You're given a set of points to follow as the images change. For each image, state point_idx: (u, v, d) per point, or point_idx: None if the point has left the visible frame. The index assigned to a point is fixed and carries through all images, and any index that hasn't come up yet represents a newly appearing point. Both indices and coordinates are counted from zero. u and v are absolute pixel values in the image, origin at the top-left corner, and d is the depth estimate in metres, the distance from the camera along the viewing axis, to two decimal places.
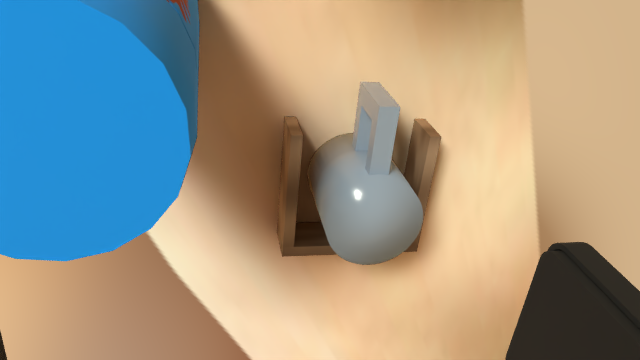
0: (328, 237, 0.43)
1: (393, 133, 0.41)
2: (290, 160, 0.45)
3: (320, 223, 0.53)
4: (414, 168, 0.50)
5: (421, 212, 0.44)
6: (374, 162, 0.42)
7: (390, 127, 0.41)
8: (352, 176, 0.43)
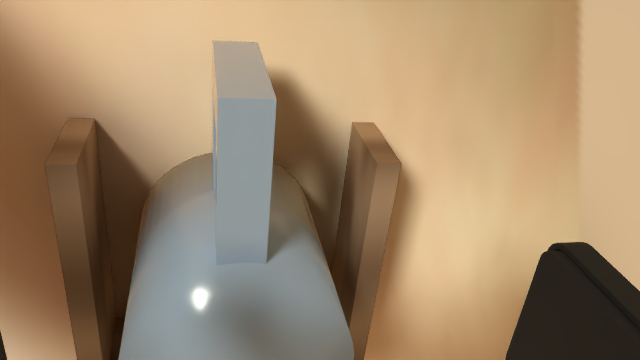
0: None
1: (266, 167, 0.16)
2: (57, 220, 0.20)
3: None
4: (352, 222, 0.25)
5: (349, 344, 0.19)
6: (225, 237, 0.17)
7: (256, 152, 0.16)
8: (179, 265, 0.18)
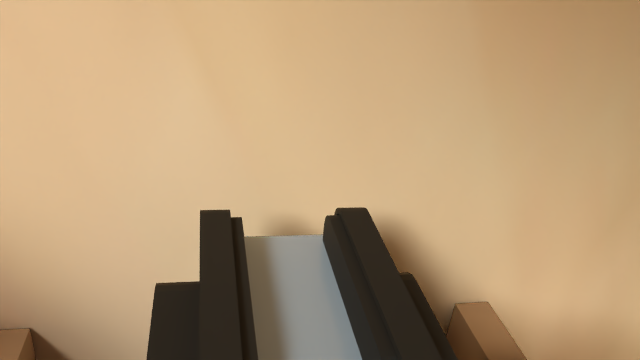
0: None
1: None
2: None
3: None
4: None
5: None
6: None
7: None
8: None
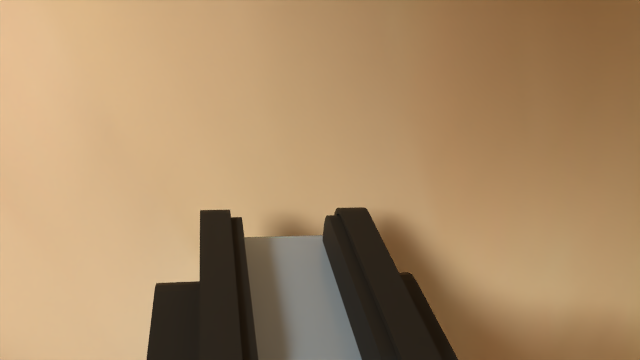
0: None
1: None
2: None
3: None
4: None
5: None
6: None
7: None
8: None
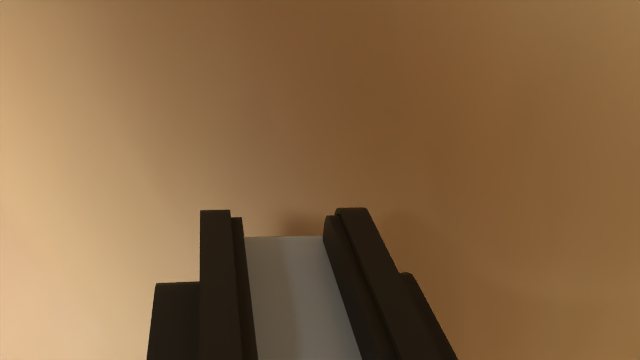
0: None
1: None
2: None
3: None
4: None
5: None
6: None
7: None
8: None
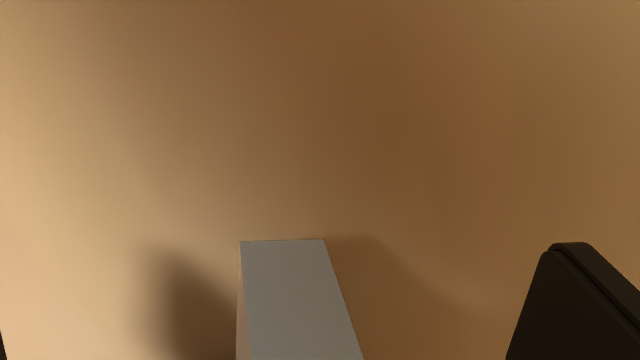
0: None
1: None
2: None
3: None
4: None
5: None
6: None
7: None
8: None
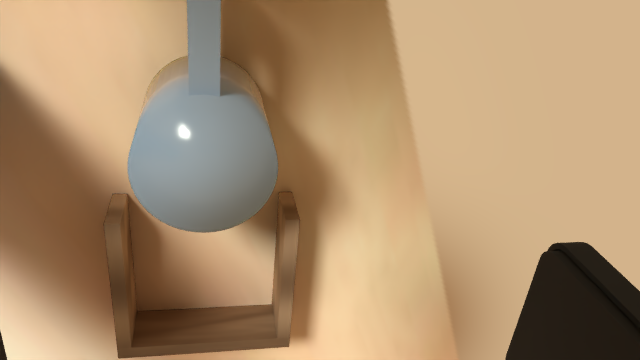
0: (134, 189, 0.29)
1: (216, 28, 0.27)
2: (108, 253, 0.37)
3: (177, 311, 0.45)
4: (279, 252, 0.41)
5: (274, 154, 0.30)
6: (193, 75, 0.28)
7: (210, 18, 0.27)
8: (167, 98, 0.29)
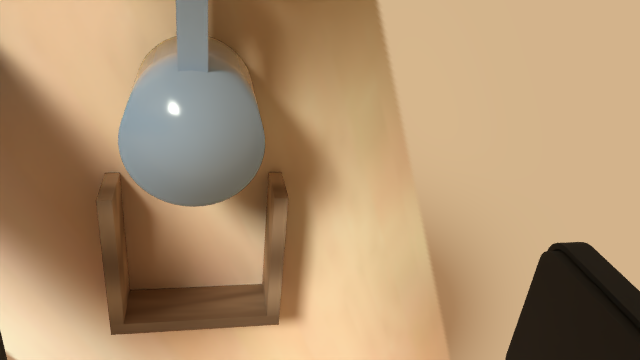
0: (125, 163, 0.30)
1: (204, 5, 0.28)
2: (101, 229, 0.37)
3: (169, 290, 0.46)
4: (268, 231, 0.42)
5: (261, 129, 0.31)
6: (182, 51, 0.29)
7: None
8: (156, 74, 0.30)
